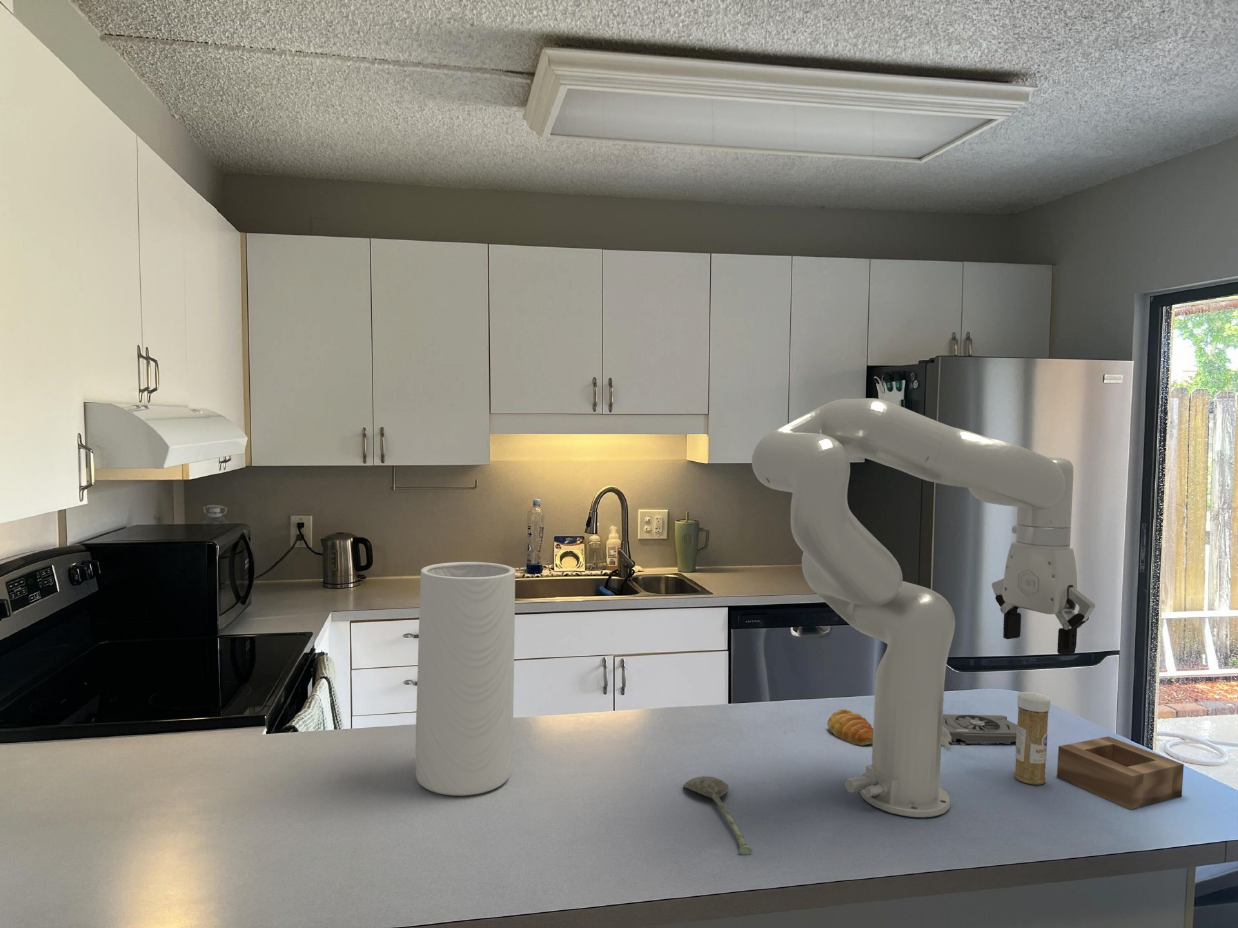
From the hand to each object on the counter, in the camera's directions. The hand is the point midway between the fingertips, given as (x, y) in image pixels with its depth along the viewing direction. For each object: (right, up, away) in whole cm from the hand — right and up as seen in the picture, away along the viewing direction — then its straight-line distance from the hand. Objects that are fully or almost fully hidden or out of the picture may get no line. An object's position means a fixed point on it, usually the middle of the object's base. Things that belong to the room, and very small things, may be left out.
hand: (1038, 645), depth 131 cm
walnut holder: (+12, -22, -1) cm, 25 cm away
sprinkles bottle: (-1, -21, +1) cm, 21 cm away
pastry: (-24, -20, +18) cm, 36 cm away
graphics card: (-2, -21, +18) cm, 28 cm away
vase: (-89, -19, -5) cm, 91 cm away
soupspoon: (-51, -21, -14) cm, 57 cm away
